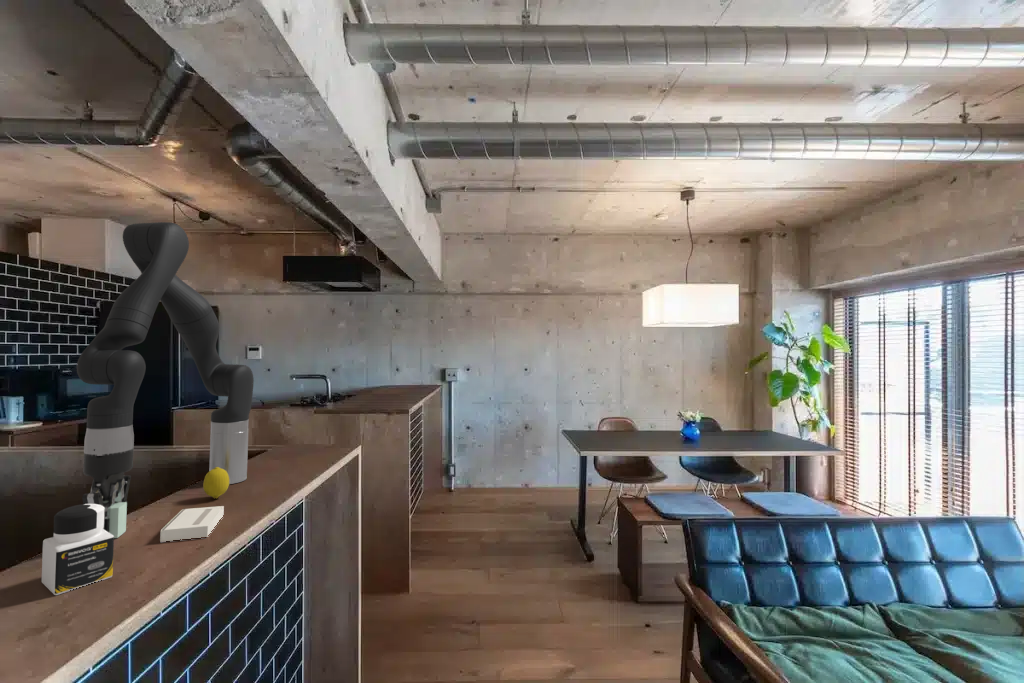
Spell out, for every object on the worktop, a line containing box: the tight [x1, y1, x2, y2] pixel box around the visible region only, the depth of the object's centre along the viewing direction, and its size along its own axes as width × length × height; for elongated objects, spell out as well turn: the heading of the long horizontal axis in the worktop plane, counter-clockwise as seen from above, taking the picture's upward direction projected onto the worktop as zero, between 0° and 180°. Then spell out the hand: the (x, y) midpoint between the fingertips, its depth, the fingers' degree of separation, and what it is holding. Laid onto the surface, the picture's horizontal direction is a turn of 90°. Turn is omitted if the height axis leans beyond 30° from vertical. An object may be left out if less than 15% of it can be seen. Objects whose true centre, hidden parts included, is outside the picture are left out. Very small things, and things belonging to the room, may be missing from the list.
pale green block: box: [104, 501, 128, 539], centre depth 92 cm, size 4×5×6 cm
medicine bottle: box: [41, 503, 115, 596], centre depth 75 cm, size 7×7×12 cm
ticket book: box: [159, 505, 225, 543], centre depth 97 cm, size 12×8×2 cm, turn 19°
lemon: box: [202, 467, 230, 499], centre depth 115 cm, size 6×6×8 cm
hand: (106, 533), depth 92 cm, fingers closed on pale green block, 3 cm apart
